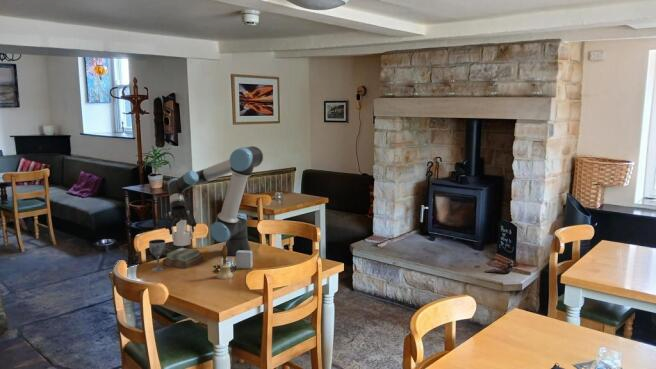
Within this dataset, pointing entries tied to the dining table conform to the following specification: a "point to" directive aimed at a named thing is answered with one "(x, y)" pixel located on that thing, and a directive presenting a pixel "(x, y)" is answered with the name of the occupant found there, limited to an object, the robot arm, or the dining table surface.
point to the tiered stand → (183, 258)
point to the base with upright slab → (182, 234)
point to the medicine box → (244, 259)
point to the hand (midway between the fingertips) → (182, 238)
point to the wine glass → (157, 251)
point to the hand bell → (224, 266)
